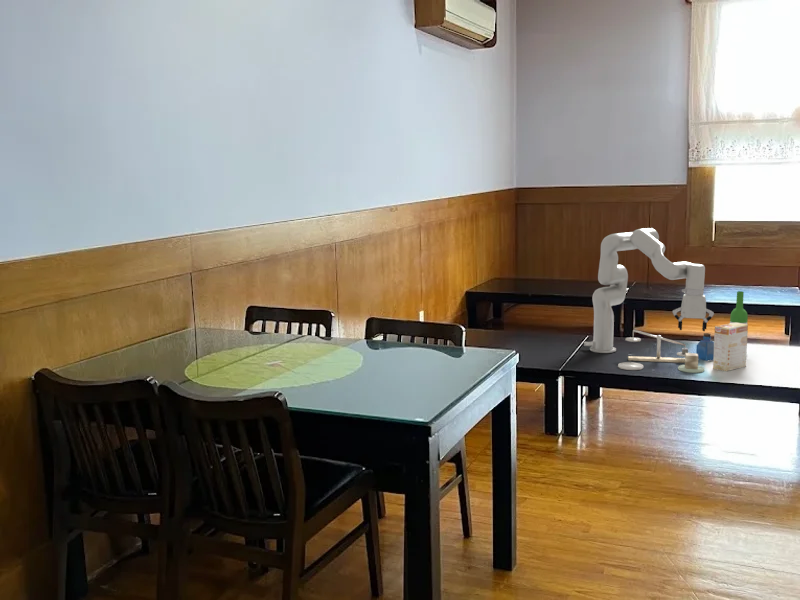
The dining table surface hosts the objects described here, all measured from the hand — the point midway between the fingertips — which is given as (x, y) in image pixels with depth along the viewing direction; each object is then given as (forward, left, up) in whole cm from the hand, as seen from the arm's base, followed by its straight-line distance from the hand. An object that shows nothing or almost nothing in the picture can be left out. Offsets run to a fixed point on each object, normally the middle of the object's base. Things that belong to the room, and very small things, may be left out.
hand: (691, 330), depth 354 cm
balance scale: (-13, +15, -18) cm, 26 cm away
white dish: (-26, 0, -18) cm, 31 cm away
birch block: (0, 0, -17) cm, 17 cm away
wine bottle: (+25, +38, -18) cm, 49 cm away
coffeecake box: (+17, +7, -18) cm, 26 cm away
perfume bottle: (+9, +23, -18) cm, 31 cm away
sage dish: (0, 0, -18) cm, 18 cm away
